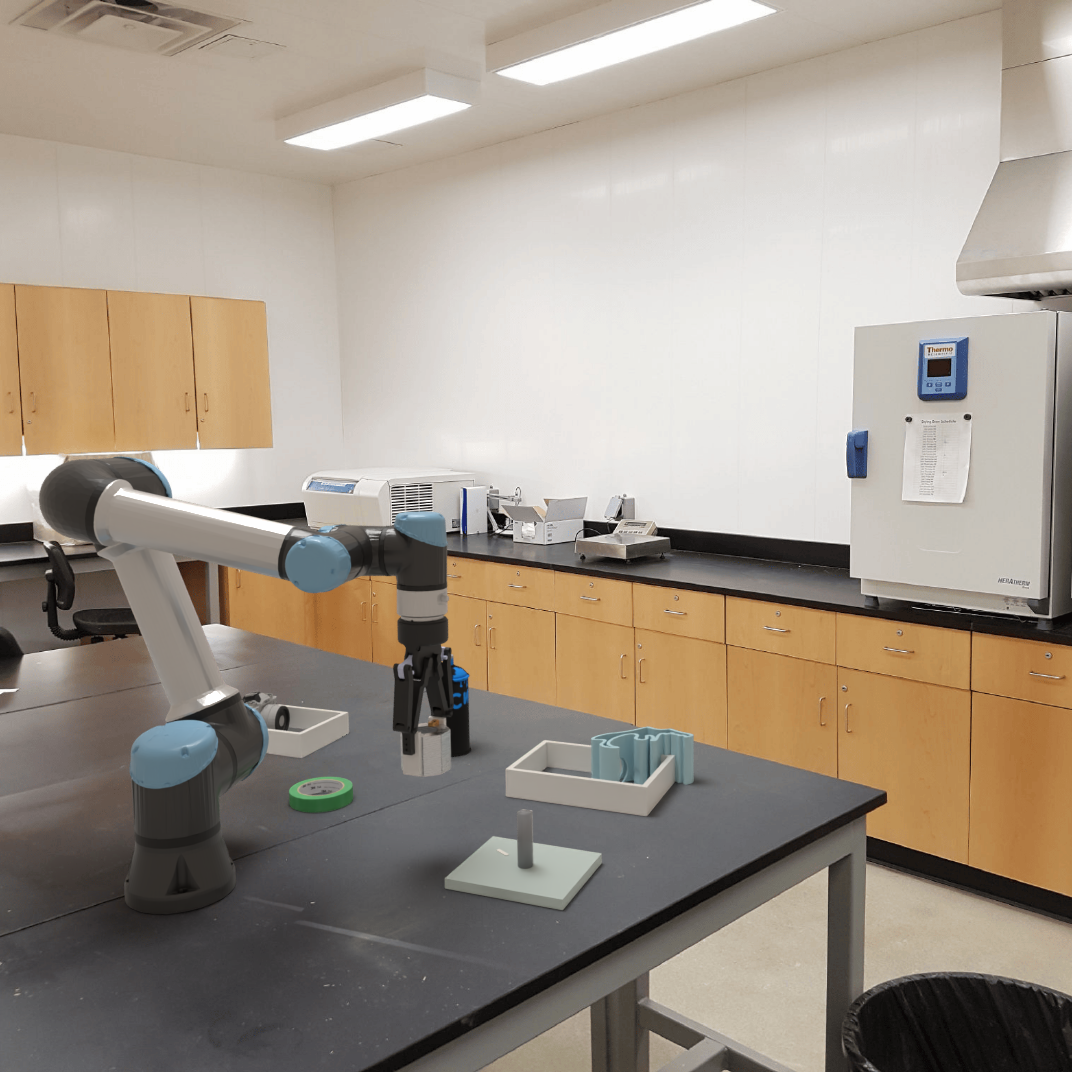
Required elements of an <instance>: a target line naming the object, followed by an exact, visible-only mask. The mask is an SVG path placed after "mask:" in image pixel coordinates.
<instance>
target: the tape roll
mask: <svg viewBox="0 0 1072 1072" xmlns="http://www.w3.org/2000/svg"><path fill="white" fill-rule="evenodd" d="M318 793H319V794H318ZM321 793H322V794H321ZM323 793H325V794H323ZM326 793H327V794H326ZM317 794H318V795H317ZM288 798H289V799H288V801H289V806H290V807H291V808H292V809H294V811H298V812H302V813H309V814H310V813H313V814H314V813H315V814H317V813H327V812H331V811H336V810H339V809H343V808H345V807H347V806H348V805H350V804H351V803H352V802H353V801H354V786H353V782H352V781H351V780H349V779H347V778H343V777H340V776H320V777H319V776H318V777H313V778H312V777H311V778H307V779H305V780H302V781H299V782H297V783H295V784H293V785H292V786H291V787H290V788H289V790H288Z"/></svg>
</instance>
